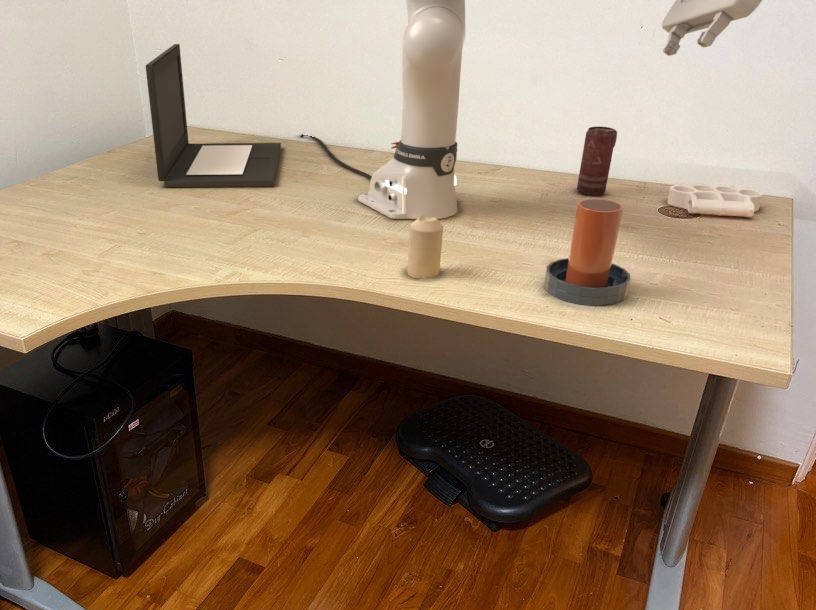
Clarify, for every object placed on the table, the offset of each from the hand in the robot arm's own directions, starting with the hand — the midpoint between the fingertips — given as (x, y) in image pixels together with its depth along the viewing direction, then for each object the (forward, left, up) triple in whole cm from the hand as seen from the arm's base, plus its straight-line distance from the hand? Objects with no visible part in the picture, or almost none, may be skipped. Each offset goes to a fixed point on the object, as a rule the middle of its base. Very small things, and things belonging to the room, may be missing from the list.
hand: (684, 49), depth 124 cm
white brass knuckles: (-4, +33, -34) cm, 48 cm away
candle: (-17, -40, -34) cm, 55 cm away
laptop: (-99, -29, -34) cm, 108 cm away
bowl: (+5, -25, -34) cm, 43 cm away
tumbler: (+5, -25, -34) cm, 42 cm away
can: (-27, +23, -34) cm, 49 cm away
